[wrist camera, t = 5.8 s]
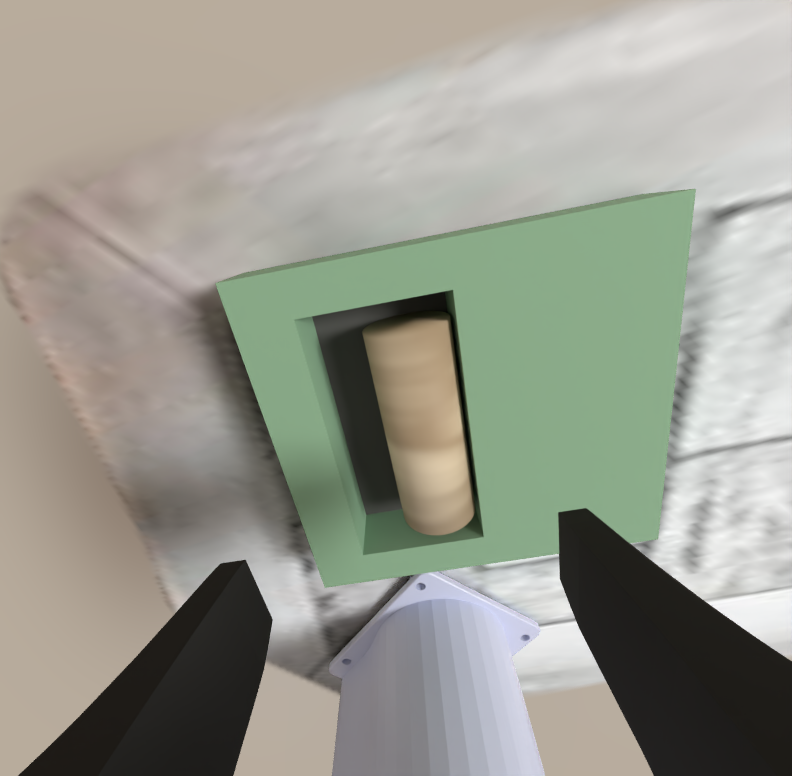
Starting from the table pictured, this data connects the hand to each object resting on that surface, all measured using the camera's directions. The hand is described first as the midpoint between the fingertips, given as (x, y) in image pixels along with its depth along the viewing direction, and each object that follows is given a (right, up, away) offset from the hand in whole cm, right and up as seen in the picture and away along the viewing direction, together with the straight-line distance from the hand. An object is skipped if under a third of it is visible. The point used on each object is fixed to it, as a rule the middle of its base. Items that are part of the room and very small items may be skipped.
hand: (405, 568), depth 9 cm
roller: (+1, +3, +6) cm, 6 cm away
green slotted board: (+2, +4, +7) cm, 8 cm away
